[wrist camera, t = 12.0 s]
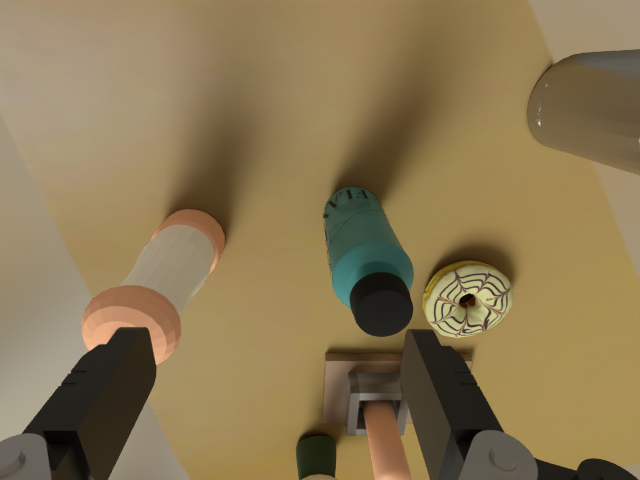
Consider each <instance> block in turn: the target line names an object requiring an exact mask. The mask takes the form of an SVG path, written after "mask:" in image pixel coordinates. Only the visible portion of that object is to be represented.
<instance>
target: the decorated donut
mask: <svg viewBox="0 0 640 480" xmlns="http://www.w3.org/2000/svg"><path fill="white" fill-rule="evenodd" d="M468 293H471V294H474V295H473V298H472V299H470V300H469V301H467V302H465V303H459V300H460V298H461V297H462V296H464V295H466V294H468ZM512 303H513V292H512V286H511V283H510V282H509V280H508V278H507V277H506V276H504V275H503V274H502V273H501V272H500V271H499V270H498V269H496V268H494V267H493V266H491V265H489V264H486V263H483V262H479V261H471V260H470V261H469V260H466V261H459V262H455V263H453V264H450V265H448V266H445V267H444V268H442V269H441V270H439V271H438V272H437V273H436V274H435V275H434V276H433V278H432V279H431V280H430V282H429V284H428V286H427V287H426V289H425V292H424V294H423V297H422V306H423V310H424V312H425V317H426V319H427V321H428V322H429V323H430V325H431V326H432V327H433V328H434V329H436V330H437V331H438V332H439V333H440V334H441V335H444V336H452V337H454V338H459V337H465V336H472V335H476V334H479V333H482V332H484V331H487V330H488V329H490V328H492V327H493V326H495V325H496V324H497V323H499V322H500V321H501V320H502V319H503V317H504V316H505V315H506V314H507V313H508V311H509V309H510V307H511V305H512Z"/></svg>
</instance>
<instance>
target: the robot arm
mask: <svg viewBox="0 0 640 480" xmlns="http://www.w3.org/2000/svg"><path fill="white" fill-rule="evenodd" d="M527 115H528V124H529V127H530V130H531V132H532V134H533V136H534V137H535V138H536V139H537V140H538V141H539V142H540V143H542V144H543V145H545V146H547V147H550V148H554V149H557V150H560V151H563V152H566V153H570V154H572V155H575V156H579V157H582V158H585V159H588V160H591V161H595V162H598V163H601V164H605V165H608V166H611V167H614V168H617V169H621V170H624V171H627V172H630V173H634V174H637V175H640V50H639V49H638V50H623V51H605V52H592V53H591V52H590V53H581V54H575V55H572V56H569V57H567V58H564V59H563V60H561V61H559V62H558V63H556V64H554V65H553V66H552V67H551V68H550V69H549V70H548V71H547V72H545V74H544V75H543V76H542V77H541V79H540V80H539V81H538V83H537V84H536V86H535V88H534V90H533V92H532V94H531V97H530V100H529V104H528V111H527ZM400 376H401V384H402V388H403V391H404V395H405V398H406V401H407V405H408V408H409V411H410V414H411V418H412V421H413V424H414V428H415V431H416V434H417V437H418V441H419V444H420V447H421V450H422V454H423V457H424V460H425V464H426V467H427V470H428V473H429V477H430V480H638V479H637V478H636V477H634V476H633V475H632V474H631V473H629V472H628V471H626V470H625V469H623V468H621V467H620V466H618V465H616V464H614V463H611V462H609V461H606V460H602V459H595V458H594V459H586V460H584V461H582V462H581V463H580V465H579V467H578V469H577V471H575V470H572V469H568V468H565V467H561V466H558V465H555V464H551V463H548V462H544V461H541V460H538V459H536V458H534V457H533V455H532V454H531V453H530V451H529V450H528V449H527V448H526V447H525V446H524V445H523V444H522V443H521V442H520V441H518V440H517V439H515V438H514V437H512V436H510V435H508V434H506V433H504V431H503V429H502V427H501V426H500V424H499V422H498V420H497V418H496V417H495V415H494V413H493V411H492V409H491V407H490V406H489V404H488V402H487V400H486V398H485V397H484V395H483V393H482V391H481V389H480V387H479V386H477V382H476V380H475V378H474V377H473V375H471V371H470V369H469V367H468V366H467V364H466V362H465V360H464V358H463V357H462V356H460V355H459V354H458V353H457V352H456V351H455V350H454V349H453V348H452V347H451V346H441V345H440V343H439V341H438V339H437V337H436V335H435V333H434V331H433V330H431V329H408V330H407V332H406V337H405V343H404V349H403V355H402V361H401V368H400ZM155 378H156V362H155V357H154V352H153V347H152V342H151V337H150V332H149V330H148V328H147V327H120V328H118V329H117V330H116V331H115V333H114V334H113V335H112V337H111V338H110V340H109V341H108V342H107V344H99V345H97V346H96V347H95V348H93V349H92V350H91V351H89V352H88V353H86V354H85V355H84V356H83V357H82V358H81V359H80V360H79V361H78V363H77V364H76V365H75V367H74V368H73V369H72V370H71V374H68V375H67V377H66V378H65V379H64V380H63V382H62V384H61V386H59V387H58V388H57V389H56V391H55V392H54V393H53V395H52V396H51V397H50V398H49V400H48V401H47V402H46V403H45V405H44V406H43V407H42V409H41V410H40V411H39V412H38V414H37V415H36V416H35V417H34V419H33V420H32V421H31V422H30V424H29V425H28V426H27V427H26V429H25V430H24V431H23V433H22V434H20V435H16V436H12V437H10V438H7V439H5V440H3V441H1V442H0V480H108V478H109V476H110V474H111V472H112V470H113V468H114V466H115V464H116V462H117V460H118V458H119V456H120V454H121V451H122V449H123V447H124V445H125V443H126V441H127V439H128V437H129V435H130V433H131V431H132V428H133V427H134V425H135V423H136V420H137V419H138V416H139V414H140V412H141V410H142V408H143V406H144V404H145V402H146V400H147V398H148V396H149V394H150V392H151V390H152V388H153V385H154V382H155Z"/></svg>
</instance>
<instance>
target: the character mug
mask: <svg viewBox="0 0 640 480" xmlns="http://www.w3.org/2000/svg"><path fill="white" fill-rule="evenodd" d="M296 458H297V468H298V476H299V480H337V479H335V469H336V446H335V443H334V441H333V440H331V439H330V438H329V437H325V436H312V437H309V438H306V439H304V440H302V441H300V442H299V443H298V444H297V447H296Z"/></svg>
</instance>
